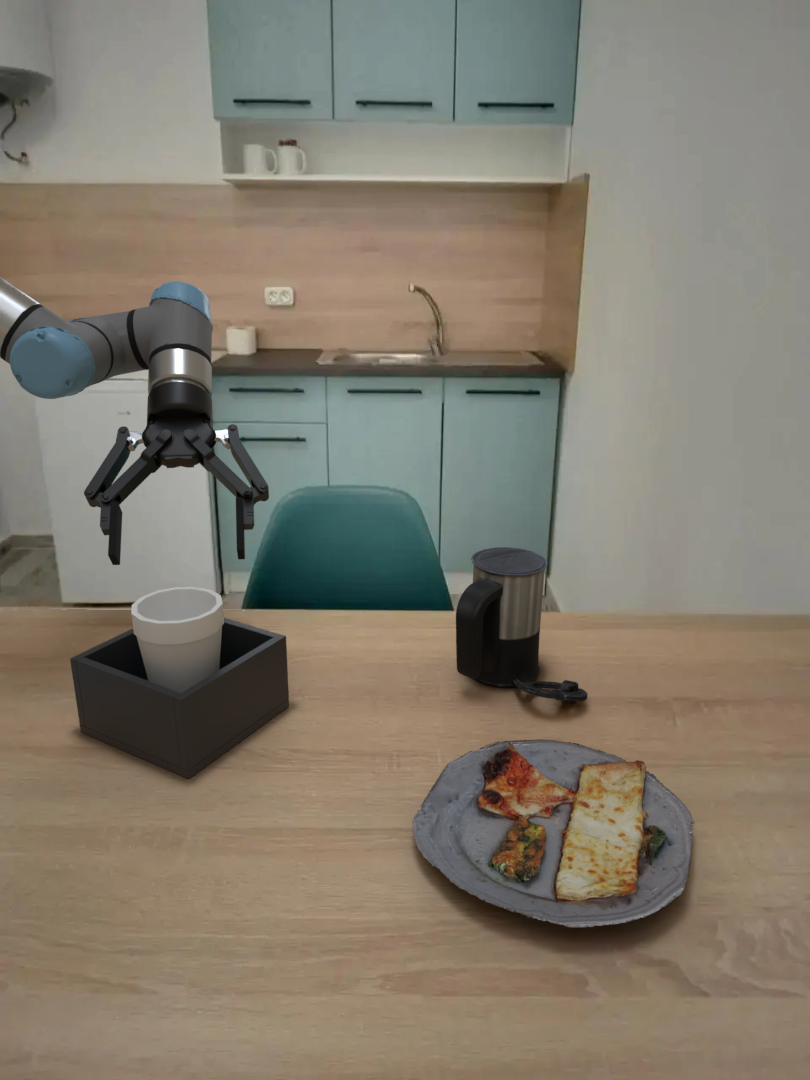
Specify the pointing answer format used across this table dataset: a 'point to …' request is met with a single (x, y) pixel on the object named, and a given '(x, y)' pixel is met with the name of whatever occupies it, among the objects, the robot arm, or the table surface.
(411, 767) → the table surface
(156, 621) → the foam cup
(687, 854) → the food plate
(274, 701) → the black storage bin
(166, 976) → the table surface
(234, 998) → the table surface
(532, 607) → the milk frother
